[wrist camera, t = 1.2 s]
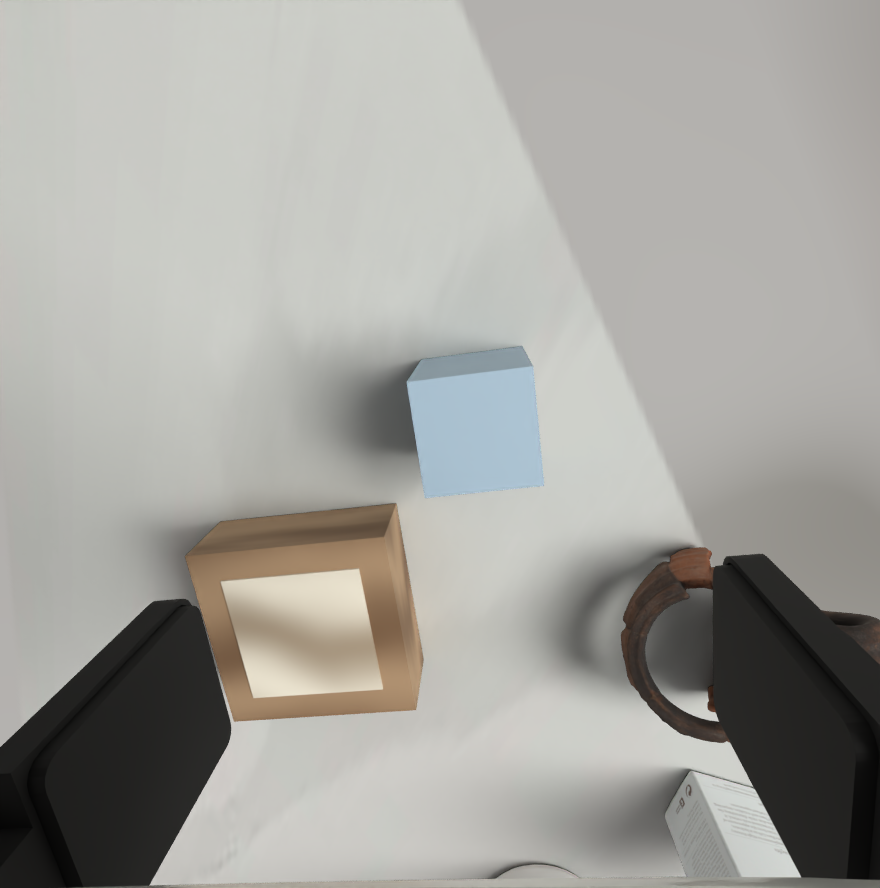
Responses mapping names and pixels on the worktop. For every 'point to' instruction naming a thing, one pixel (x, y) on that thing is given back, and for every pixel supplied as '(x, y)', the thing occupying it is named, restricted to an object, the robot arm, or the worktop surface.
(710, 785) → the skincare box
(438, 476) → the slate block
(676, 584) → the brown segmented ring
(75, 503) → the worktop surface
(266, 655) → the walnut plinth
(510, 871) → the milk bottle
